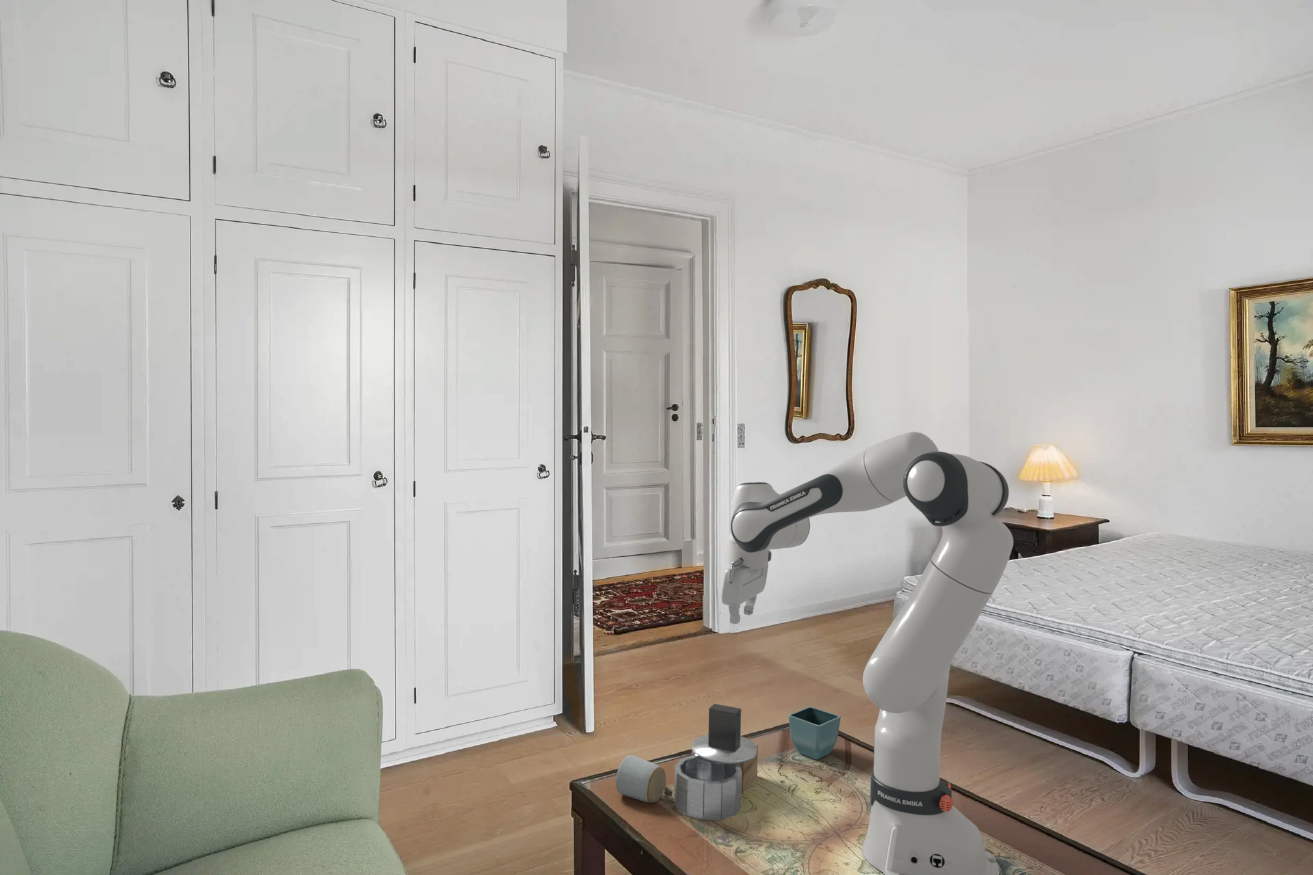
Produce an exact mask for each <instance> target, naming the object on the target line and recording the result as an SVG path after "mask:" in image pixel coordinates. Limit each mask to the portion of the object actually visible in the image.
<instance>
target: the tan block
mask: <svg viewBox="0 0 1313 875" xmlns="http://www.w3.org/2000/svg"><path fill="white" fill-rule="evenodd" d="M755 745H756V746H757V755H756V756H755V757H754V758H753V759H752V760H750V761H748V762H744V763H740V764H739V766H740V768H741V770H742V795H744V793H745V792H746V791H747V790H748V788H749V787H750V786H751V785H752V783H753V782H754V781H755V779H756V778H757V777H758V760H759V759H758V753H759V744H758V743H755Z"/></svg>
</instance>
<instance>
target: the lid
mask: <svg viewBox="0 0 1313 875" xmlns="http://www.w3.org/2000/svg"><path fill="white" fill-rule="evenodd" d="M741 726H742V708H739V707H735V706H729V705H723V704H716V703H714V704H712V705H711V706H710V707H708V734H704V735H701V736H698V737H697V738H695V739H694V740H693V741H692V743H691V752H692V754H693V755H696V756H697V757H698V758H700V759H702V760H705V761H708V762H711V763H716V764H740V763H744V762H748V761H750V760H752V759H753V758H754V757H755V756H756V755H757V746H756V745H755V744H756V743H755V742H754V741H753V740H751V739H749V738H747V737H744V736H741V732H742V730H741Z"/></svg>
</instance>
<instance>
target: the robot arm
mask: <svg viewBox="0 0 1313 875" xmlns="http://www.w3.org/2000/svg"><path fill="white" fill-rule="evenodd" d="M1009 488H1010V487H1009V485H1008V482H1007V480H1006V478H1005V476H1004V475H1003V474H1002V473H1001V471H999V470H998V469H997V468H996V467H994V466H993V465H991V464H988V463H987V462H983V461H978V460H976V459H974V458H972V457H970V456H968V455H962V454H957V453H949V452H945V451H940V450H939V448H938V446H937V445H936V444H935V442H934V441H933V440H932V439H931V438H930V437H929V436H928V435H926V434H924V433H921V432H919V431H909V432H906V433H905V432H904V433H902V434H900V435H899V434H898V435H896V436H893V437H890V438H888V439H885V440H882V441H881V442H880V441H879V443H876V444H873V445H872V446H870V447H868V448H866V449H865V450H863V451H861V452H859V453H858V454H856V455H854V456H852V457H851V458H849V459H847V460H845V461H844V462H842V463H840V464H838V465H837V466H834V467H833V468H832V469H830V470H828V471H826V472H824V473H822V474H820V475H819V476H817V477H815V478H812V479H811V480H809V481H807V482H804V483H802V484H799V485H798V486H796V487H794V488H791V489H789V490H787V491H785V492H783V493H780V494H779V493H778V492H777V491H776V490H775V489H774V488H773V486H772V484H770V483H767V482H765V481H764V482H763V481H756V482H752V481H751V482H743V483H740V484H738V485H737V486H736V488H735V490H734V492H733V496H732V500H731V505H730V514H729V524H730V533H729V536H728V538H727V549H726V550H727V551H726V559H725V560H726V562H727V564H730V565H731V566H730V567H729V566H728V568H726V570H725V572H724V576H723V584H722V587H721V588H722V589H721V603H722V604H723V605H726V606H728V612H729V622H730V624H733V625H737V624H740V621H741V614H740V609H741V605H742V604H743V603H745V605H744V606H743V614H744V615H746V616H752V615H753V614H754V611H755V608H754V607H755V604H756V602H757V597H758V596H757V595H759V594H761V593H763V591H764V590H765V586H766V582H767V578H768V572H769V571H768V570H769V562H771V561H772V557H773V556H772V555H773V554H772V553H773V552H772V551H771V550H782V549H789V548H790V549H791V548H795V547H798V546H800V545H802V544H804V542H805V541H806V540H807V538H808V536H809V534H810V530H811V521H810V519H811V518H812V517H816V516H819V515H824V514H833V513H834V514H835V513H854V512H855V513H856V512H867V511H871V510H875V509H878V508H883V507H886V506H888V505H890V504H893V503H895V502H897V501H900V500H901V499H903V498H907V499H908V501H909V502H910V503H911V504H912V505H913V506H914V507H915V509H917V510H918V511H919V512H920V513H921V514H922V515H923V516H924V517H925V519H926V520H927V521H928V522H929V523H930V524H931V525H932V526H934V527H941V530H942V536H941V538H940V540H939V544H938V545H937V547H936V548H935V550H934V553H933V554H932V556H931V558H930V559H929V561H928V563H927V564H926V567H925V568H924V571H923V572H922V574H921V576H920V577H919V579H918V581H917V583H916V585H915V587H914V588H913V590H912V592H911V593H910V595H909V597H908V599H907V600H906V602H905V603H904V604H903V607H901V609H900V610H899V612H898V613H897V614H896V616H895V618H894V619H893V620H892V622H891V624H890V625H889V627H888V628H887V630H886V632H885V633H884V635H883V636H882V638H881V639H880V641H879V643H878V645H877V646H876V647H875V649H874V650H873V653H872V654H871V655H870V658H869V659H868V660H867V662H866V665H865V666H864V670H863V674H862V684H863V689H864V692H865V694H866V696H867V697H868V699H869V700H870V701H871V703H873V704H874V706H876V707H877V708H879V712H878V717H877V719H876V720H877V721H876V723H875V727H874V741H873V742H874V743H873V745H874V746H873V769H872V772H871V774H870V781H869V800H870V805H871V808H870V816H869V821H868V826H867V832H866V835H865V838H864V841H863V844H862V847H861V852H862V855H863V857H864V858H865V860H866V861H867V862H868V863H869V864H870V865H871V866H873V867H874V868H875V869H876V870H878V871H880V873H882V872H883V873H882V874H885V875H999V873H1000V868H999V864H998V861H997V859H996V858H995V857H994V856H993V854H992V853H990V852H989V851H986V846H985V842H984V838H983V836H982V832H981V831H980V830H979V828H978V826H977V825H976V824H975V823H974V822H972V821H971V820H970V819H969V818H967V817H966V816H965V815H964V814H963V813H962V812H961V811H959V809H957V808H956V807H955V806H954V805H953V803H954V801H953V792H952V785H951V783H950V782H948V784H946V783H945V782H944V781H942V780H941V779H940V776H941V775H940V774H941V773H940V772H941V742H942V732H943V725H944V719H945V712H946V706H947V698H948V697H947V696H948V689H949V688H948V687H949V679H950V670H951V669H950V668H951V665H952V660H953V659H954V657H955V656H956V654H957V652H958V651H959V650H960V648H961V647H962V645H963V643H964V641H965V640H967V637H968V636H969V635H970V633H971V631H972V630H973V627H974V626H975V625H976V622H977V621H978V619H979V618H980V616H981V615H982V613H983V611H984V608H985V607H986V606H987V604H988V602H989V600H990V598H992V597H991V596H992V595H993V593H994V591H995V590H996V588H997V586H998V584H999V583H1000V580H1001V578H1002V576H1003V574H1004V572H1005V570H1006V567H1007V565H1008V562H1009V559H1010V556H1011V554H1012V550H1013V546H1014V537H1013V534H1012V532H1011V531H1010V529H1009V528H1008V526H1006V525H1005V523H1003V522H1002V521H1001V520H1000V519H998V518H996V517H995V516H997V515H999V514H1000V513H1001V512H1002V511H1003V510H1004V508H1005V507H1006V506H1007V503H1008V500H1009V494H1010V490H1009ZM989 859H994V861H997V862H995V863H994V862H993V863H990V862H987V861H988V860H989ZM992 861H993V860H992Z"/></svg>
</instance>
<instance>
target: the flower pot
mask: <svg viewBox="0 0 1313 875" xmlns="http://www.w3.org/2000/svg"><path fill="white" fill-rule="evenodd" d="M841 719H842V717H841V716H840V715H838V714H835V713H831V712H829V711H825V710H822V709H819V708H817V707H814V706H807V707H804V708H803V709H800V710H798V711H796V712H793V713H790V714H788V724H789V733H790V737H791V740H792V743H793V745H794V747H795V749H796V751H797V752H798V753H799V754H800V755H803V756H806V757H808V758H811V759H813V760H820V759H821V758H823V757H826V756H827V755H829V754H830V753H831V752H832V751H833V749H834V748H835V745H836V743H837V741H838V737H839V731H840V726H841V725H840V724H841Z"/></svg>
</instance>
